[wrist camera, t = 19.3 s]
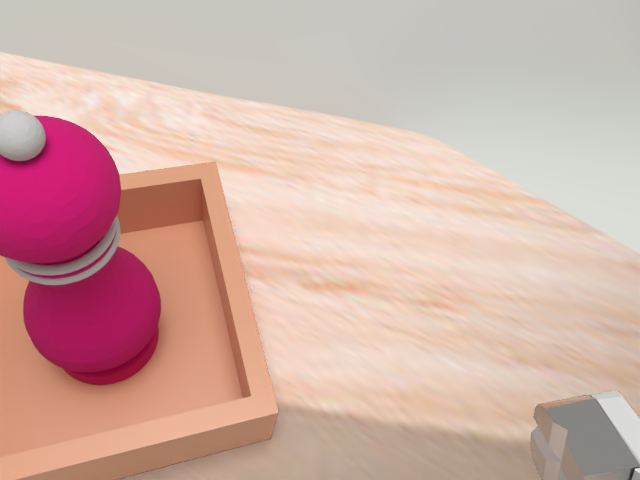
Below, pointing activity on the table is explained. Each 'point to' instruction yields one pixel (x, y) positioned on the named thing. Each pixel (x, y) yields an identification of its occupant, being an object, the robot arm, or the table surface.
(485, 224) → the table surface
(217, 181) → the crate
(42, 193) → the pepper mill
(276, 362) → the table surface
